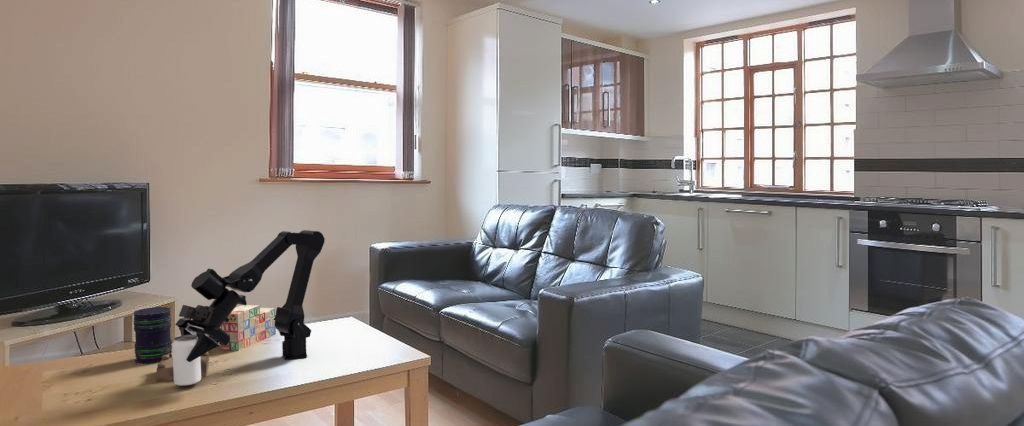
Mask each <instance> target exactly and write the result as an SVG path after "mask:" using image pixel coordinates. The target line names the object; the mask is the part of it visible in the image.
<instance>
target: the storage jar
mask: <svg viewBox="0 0 1024 426" xmlns="http://www.w3.org/2000/svg"><path fill="white" fill-rule="evenodd" d="M171 311H172V310H171V308H170V307H167V306H166V307H164V306H160V307H158V306H156V307H147V308H141V309H140V308H139V309H138V310H135V311H134V312H133V331H134V332H135V333H134V334H135V335H134V336H135V343H134V356H135V363H136V365H137V364H139V365H153V364H159V363H160V362H161V360H162V356H163V355H169V358H173V351H172V345H173V340H172V339H171V328H172V314H171Z"/></svg>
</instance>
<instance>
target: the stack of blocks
mask: <svg viewBox="0 0 1024 426" xmlns="http://www.w3.org/2000/svg"><path fill="white" fill-rule="evenodd" d="M275 315H276V310H275V307H261V305H259V304H258V305H257V304H254V305H253V304H247V305H239V306H236V307H235V308H234V310H233V311H232V312H231V314H230V315H229V316H228V319H230V320H229V321H228V323H227V322H224V323H223V324H222V325H221V327H220V328H221V329H222V330H223V331H225V332H226V333H227V334H229V335H230V340H231V341H230V342H229V343H228V345H227V346H223V345H220V346H221V351H229V350H237V351H236V352H240V351H242V350H244V349H246V347H247V348H249V347H251V346H253V345H255V344H257V343H259V342H261V341H264V340H265V339H268V338H270V337H272V336H274V335H276V332H277V331H276V330H277V329H276V327H275V320H273V319H274V318H275ZM256 342H257V343H256ZM254 343H255V344H254ZM252 344H253V345H252ZM250 345H251V346H250ZM248 346H249V347H248ZM241 349H242V350H241ZM239 350H240V351H239Z"/></svg>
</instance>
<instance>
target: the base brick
mask: <svg viewBox="0 0 1024 426" xmlns="http://www.w3.org/2000/svg"><path fill="white" fill-rule="evenodd" d="M200 358H201V378H203V377H204V378H205V377H207V376H208V371H209V367H210V354H209V351H208V352H207V353H205V354H203V355H201V356H200ZM156 365H157V367H156V382H165V381H174V373H173V357H172V358H169V355H163V356H162V360H161V362H160V363H156Z"/></svg>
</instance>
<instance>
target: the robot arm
mask: <svg viewBox="0 0 1024 426" xmlns="http://www.w3.org/2000/svg"><path fill="white" fill-rule="evenodd" d="M325 241H326V239H325V236H324V234H323V233H321V232H320V231H318V230H309V229H308V230H307V229H303V230H301V231H299V232H293V231H285V230H283V231H280V232H279V233H277V235H276V237H275V238H273V240H272V241H271V242H270V243H269V244H267V245H266V247H264V248H263V249H262V251H260V252H259V253H258V254H257V255H256V256H255V257H254V258H253V259H252V260H250V261H249V262H247V263H245V264H243V265H241V266H239V267H237V268H236V269H234V270H233V271H232V272H230V273H229V275H226V276H223V277H222V276H221V275H219V274H218V272H217V271H216V270H214V269H213V268H207V269H206V271H203V272H202V273H200V274H198V275H197V276H196V277H194V279H193V280H192V282H191V285H190V286H191V288H192V289H194V290H195V292H197V293H198V294H200V295H201V296H202V297H204V298H205V299H206V300H207V301H211V300H212V302H211V303H210V305H201V304H198V305H197V306H196V307H194V306H189V305H186V304H182V307H181V309H180V311H179V314H178V317H181V318H179V319H178V320H177V321H176V322H175V327H176V326H177V328H178V330H179V332H180V336H184V335H197V336H198V337H197V338H198V342H197V343H196V345H195V346H194V348H193V349H192V351H191V352H190V354H189V356H188V357H187V359H186V360H187V361H188V362H191V361H193V360H194V359H196V358H198V357H200V356H201V355H203V354H205V353H207V352H208V353H209V352H210V351H212V350H214V349H216V348H219V347H220V346H221V345H223V346H227V345H228V343H229V342H230V341H231V340H230V335H229V334H227V333H226V332H225V331H223V330H222V329H221V325H222V324H223V323H224V322H227V323H228V321H229V320H230V319H228V316H229V315H230V314H231V312H232V311H233V310H234V308H236V307H238V305H239V306H241V305H248V303H247V300H246V297H247V296H246V295H243V294H239V293H238V292H242V293H250V292H252V291H254V290H255V289H256V287H258V285H259V283H260V282H261V280H262V277H263V275H264V273H265V272H266V270H267V269H268V268H269V267H271V265H273V264H274V263H275V262H276V261H277V260H278V259H279V258H280V257H281V256H282V255H283V254H284V253H285V252H286V251H287V250H288V249H289V248H290V247H291V246H292V245H295V252H296V256H297V258H296V262H295V267H294V271H293V274H292V277H291V278H292V279H291V282H290V285H289V289H288V294H287V298H286V301H285V303H284V304H283V306H282V307H280V306H277V307H276V310H275V318H274V319H273V320H275V327H276V330H277V331H278V332H279V336H281V337H283V340H282V343H281V344H282V345H281V346H282V347H281V348H282V350H281V351H282V357H283V358H284V360H295V359H304V358H308V355H307V354H308V353H307V338H310V337H311V334H312V329H311V328H310V327H308V325H306V324H305V312H304V306H303V303H304V300H305V296H306V293H307V288H308V285H309V280H310V277H311V272H312V269H313V266H314V265H313V264H314V261H315V260H316V259H317V257H318V256H319V255H320V254H321V252H322V249H323V247H324V245H325ZM228 288H230V289H228ZM237 291H238V292H237Z"/></svg>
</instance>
